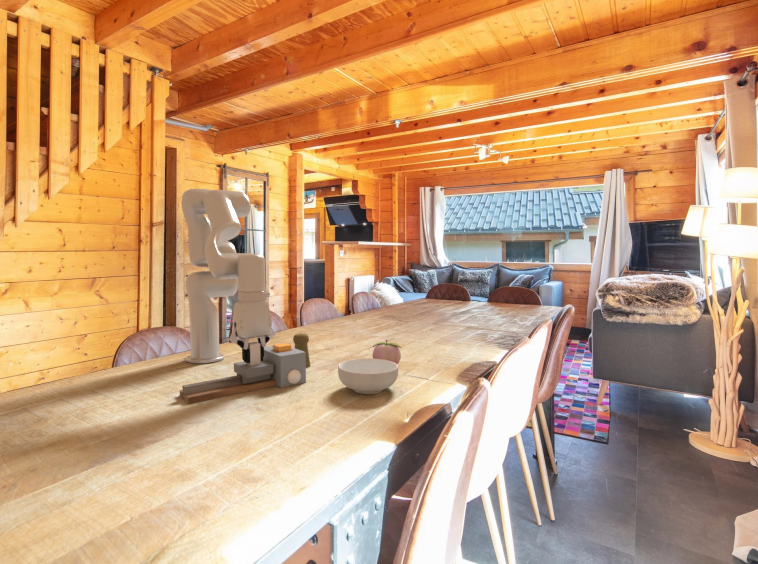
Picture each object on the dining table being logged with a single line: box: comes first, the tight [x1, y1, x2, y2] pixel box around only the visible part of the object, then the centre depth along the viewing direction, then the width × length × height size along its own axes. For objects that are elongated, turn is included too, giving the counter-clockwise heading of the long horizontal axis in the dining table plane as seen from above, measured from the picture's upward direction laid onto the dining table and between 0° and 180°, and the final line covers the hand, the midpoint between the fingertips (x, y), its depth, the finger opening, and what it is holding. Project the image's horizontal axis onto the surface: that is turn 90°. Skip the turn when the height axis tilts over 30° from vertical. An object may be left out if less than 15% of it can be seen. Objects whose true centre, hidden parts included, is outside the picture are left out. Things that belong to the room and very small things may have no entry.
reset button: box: [272, 342, 292, 353], centre depth 129 cm, size 4×4×4 cm
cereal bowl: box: [337, 358, 399, 395], centre depth 119 cm, size 17×17×7 cm
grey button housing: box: [263, 345, 307, 389], centre depth 129 cm, size 15×8×9 cm, turn 40°
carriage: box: [233, 341, 274, 384], centre depth 123 cm, size 9×8×10 cm
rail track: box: [179, 374, 277, 405], centre depth 119 cm, size 8×24×4 cm, turn 130°
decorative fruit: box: [372, 339, 402, 365], centre depth 139 cm, size 9×8×10 cm
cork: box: [292, 332, 311, 369], centre depth 144 cm, size 6×6×11 cm
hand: (253, 360), depth 123 cm, fingers open, 3 cm apart
